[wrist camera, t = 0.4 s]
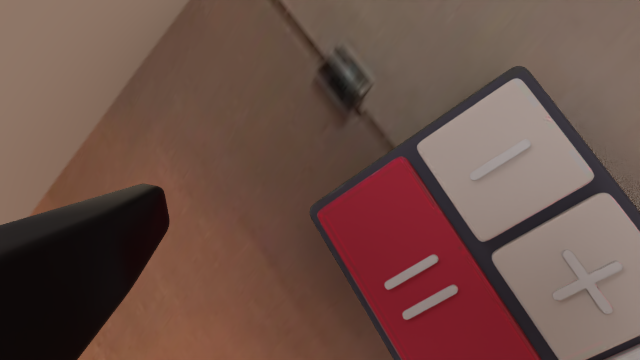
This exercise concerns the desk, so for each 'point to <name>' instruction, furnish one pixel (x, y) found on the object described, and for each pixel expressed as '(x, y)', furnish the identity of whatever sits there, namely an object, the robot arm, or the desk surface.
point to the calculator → (491, 237)
